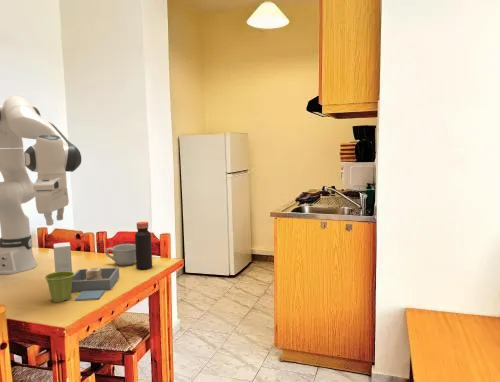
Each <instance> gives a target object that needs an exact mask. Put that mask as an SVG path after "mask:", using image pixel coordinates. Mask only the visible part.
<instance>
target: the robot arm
mask: <svg viewBox="0 0 500 382" xmlns="http://www.w3.org/2000/svg"><path fill="white" fill-rule="evenodd" d="M23 139H27V140H29V139H30V140H36V141H35V144H33V145H30V146H29V147H27V148H26V149H24V141H23ZM81 164H82V154H81V151H80V150H79V148H78V147H77V146H76V145H75V144H73V143H72V142H70V141H69V140H68V138H67V137H66V136H65V135H64V134H63V133H62V132H61V131H60V130H59V129H58V127H57V126H56V125H54V124H53V123H52V122H49V121H48V120H47V119H44V118H43V117H42V116H41V112H40V111H39V109H38V108H37V107H35V106H33V105H32V104H31V103H30V102H29V101H28V100H27V99H26V98H24V97H23V96H18V95H13V96H9V97H8V98H7V99H5V100H4V102H3V104H0V174H1V176H2V178H3V181H0V236H1V237H0V275H11V274H14V273H18V272H23V271H28V270H31V269H34V268H36V267H37V263H36V261H35V257H34V253H33V249H32V248H33V240H32V235H31V230H30V229H31V228H30V219H29V217H28V216H27V215H26V214H25V212H24V210H23V208H22V204H26V203H28V202H30V201H31V200H33V199H34V198H35V207H36V211H37V213H38V214H41V215H43V216H44V219H45V221H46V222H45V223H46V226H48V227H49V226H52V225H54V219H53V217H52V216H53V212H55V211H57V212H56V220H57V221H62V220H64V211H65V207H67V206H68V205H69V202H70V201H69V194H68V193H69V191H68V188H67V187H68V185H67V182H68V181H67V172H69V173H70V172H74V171H76V170H77V169H78V168H79V167H80V166H81ZM27 169H29V171H31V172H33V173H37V175H36V176H37V178H36V180H35V182H34V183H33V182H32V180H31V178H30V176H29V173H28V170H27Z"/></svg>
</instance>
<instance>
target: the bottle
mask: <svg viewBox="0 0 500 382" xmlns="http://www.w3.org/2000/svg"><path fill="white" fill-rule="evenodd" d="M136 229H137V231H136V233H135V234H134V245H135V248H136V261H135V265H136V266H135V268H136V269H137V270H139V269H140V270H142V271H143V270H144V269H145V270H149V268H150V269H152V268H153V255H152V253H153V251H152V233H151V232H150V231H149V221H139V222H136ZM151 267H152V268H151Z"/></svg>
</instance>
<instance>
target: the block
mask: <svg viewBox="0 0 500 382" xmlns="http://www.w3.org/2000/svg"><path fill="white" fill-rule="evenodd" d="M101 268H102V267H89V268H87V269H88V270H87V271H86V279H85V280H103V279H102V275H101Z"/></svg>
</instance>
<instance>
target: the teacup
mask: <svg viewBox="0 0 500 382" xmlns="http://www.w3.org/2000/svg"><path fill="white" fill-rule="evenodd" d="M109 251H111V253H112V254H113V255H111V254H110V253H109ZM104 253H105V255H106V257H107V258H110V259H112V261H114V263H116V264H117V265H118V266H123V267H124V266H131V265H133V264H134V263H136V248H135V243H133V244H132V243H121V244H117V245H114V246H113V247H107V248H106V249H105V252H104Z"/></svg>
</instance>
